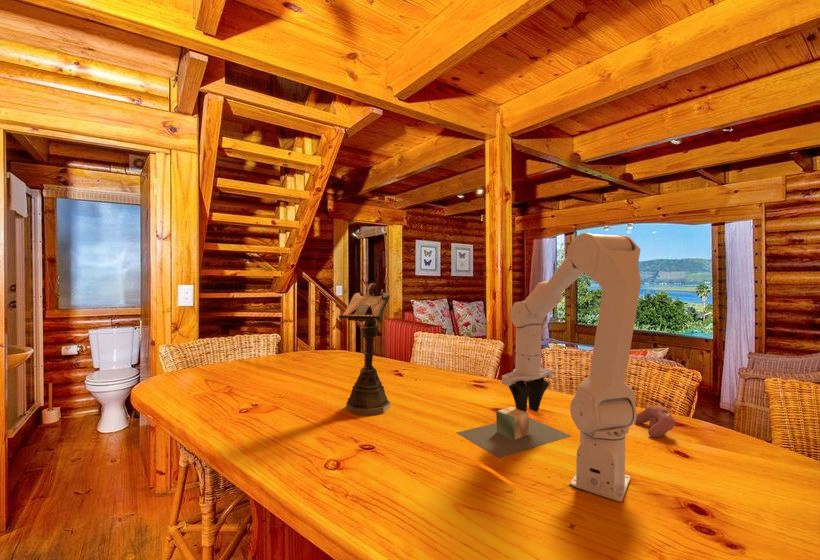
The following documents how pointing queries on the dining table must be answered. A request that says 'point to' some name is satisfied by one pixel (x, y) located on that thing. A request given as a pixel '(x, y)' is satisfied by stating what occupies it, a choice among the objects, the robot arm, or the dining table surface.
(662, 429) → the video game controller
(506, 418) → the birch block
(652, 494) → the dining table surface
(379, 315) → the book stand
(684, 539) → the dining table surface
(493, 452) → the rubber mat
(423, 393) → the dining table surface
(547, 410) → the dining table surface
